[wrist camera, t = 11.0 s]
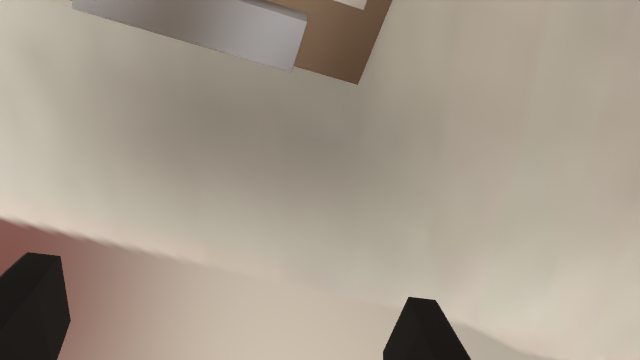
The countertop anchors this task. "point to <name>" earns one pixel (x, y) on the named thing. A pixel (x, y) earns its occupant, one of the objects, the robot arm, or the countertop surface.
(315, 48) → the picture frame
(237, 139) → the countertop surface
